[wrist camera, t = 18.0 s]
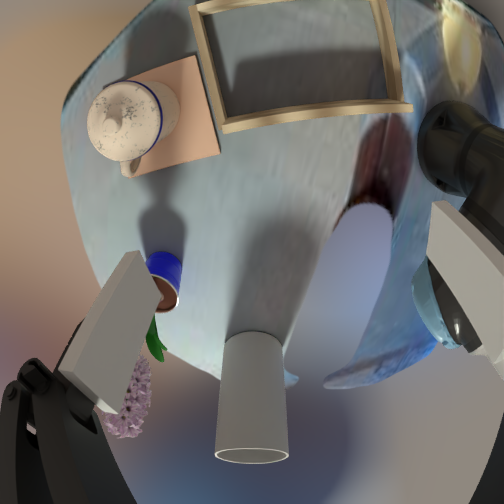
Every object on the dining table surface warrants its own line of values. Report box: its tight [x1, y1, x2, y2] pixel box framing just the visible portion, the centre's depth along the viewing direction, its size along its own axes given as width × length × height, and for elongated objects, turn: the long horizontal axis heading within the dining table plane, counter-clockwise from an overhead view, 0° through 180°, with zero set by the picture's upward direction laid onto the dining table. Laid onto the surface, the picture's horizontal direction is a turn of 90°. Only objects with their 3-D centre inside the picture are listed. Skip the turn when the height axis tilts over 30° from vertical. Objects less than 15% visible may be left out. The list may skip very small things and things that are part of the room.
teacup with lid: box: [87, 80, 180, 177], centre depth 28 cm, size 12×9×12 cm
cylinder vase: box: [215, 331, 289, 464], centre depth 49 cm, size 12×12×25 cm
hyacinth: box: [102, 252, 182, 438], centre depth 34 cm, size 9×10×30 cm
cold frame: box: [188, 0, 413, 134], centre depth 25 cm, size 24×17×7 cm
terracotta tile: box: [127, 55, 221, 178], centre depth 33 cm, size 14×14×1 cm
